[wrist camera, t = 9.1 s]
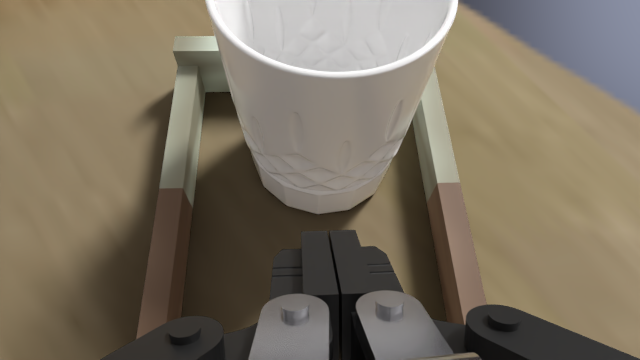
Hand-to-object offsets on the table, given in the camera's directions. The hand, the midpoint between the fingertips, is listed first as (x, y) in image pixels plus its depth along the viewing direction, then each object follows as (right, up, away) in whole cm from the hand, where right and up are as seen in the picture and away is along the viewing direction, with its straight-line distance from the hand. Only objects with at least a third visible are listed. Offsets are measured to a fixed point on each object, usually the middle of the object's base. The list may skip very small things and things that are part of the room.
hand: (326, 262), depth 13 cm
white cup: (0, +4, +10) cm, 11 cm away
